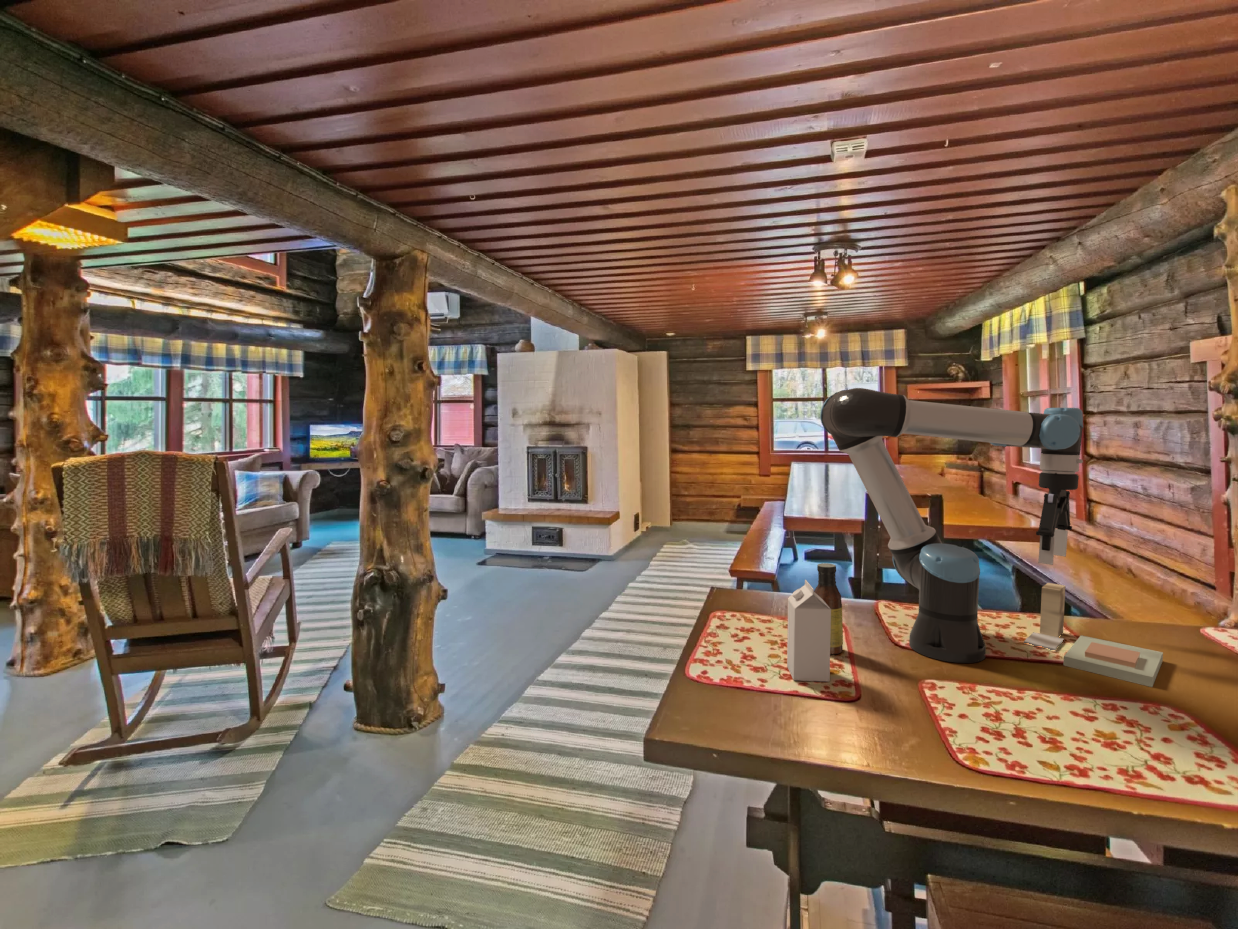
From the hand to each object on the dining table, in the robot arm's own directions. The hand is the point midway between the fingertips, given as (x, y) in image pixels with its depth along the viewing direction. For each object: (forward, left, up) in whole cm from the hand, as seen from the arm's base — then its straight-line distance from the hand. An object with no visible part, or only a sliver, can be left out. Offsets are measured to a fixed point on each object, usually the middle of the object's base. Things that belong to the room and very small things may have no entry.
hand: (1052, 559), depth 139 cm
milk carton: (-65, -25, -19) cm, 72 cm away
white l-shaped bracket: (-3, -3, -19) cm, 19 cm away
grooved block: (+2, -17, -19) cm, 25 cm away
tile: (0, -19, -15) cm, 24 cm away
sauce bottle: (-57, -12, -19) cm, 61 cm away
